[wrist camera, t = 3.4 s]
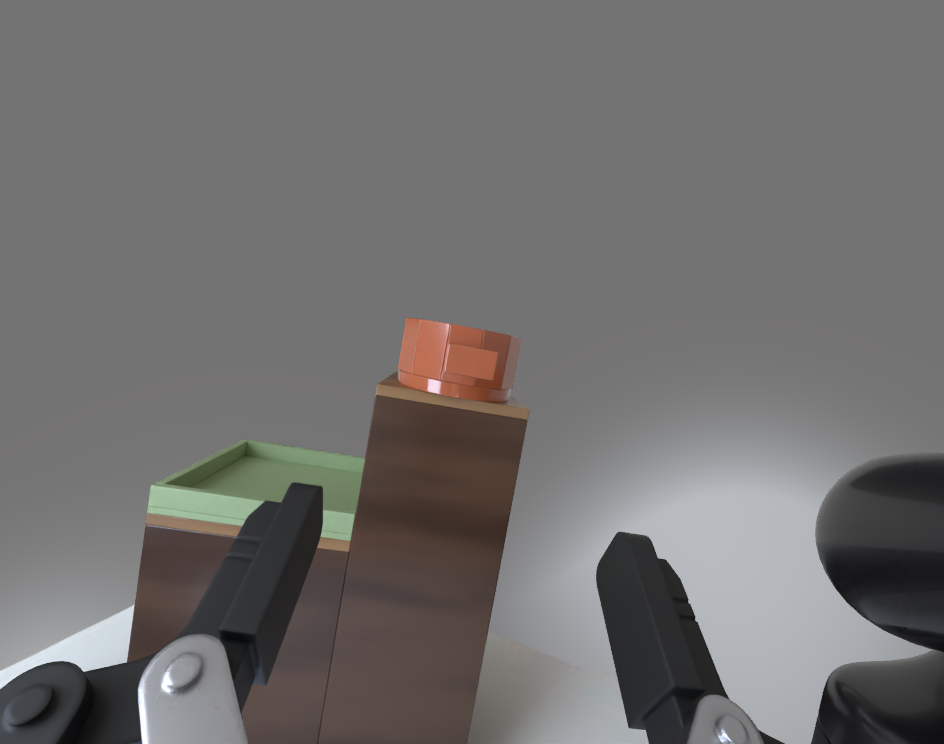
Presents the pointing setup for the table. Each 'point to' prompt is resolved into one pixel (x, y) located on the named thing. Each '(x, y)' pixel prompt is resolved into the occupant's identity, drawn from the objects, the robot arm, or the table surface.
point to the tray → (261, 485)
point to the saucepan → (458, 361)
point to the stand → (372, 582)
